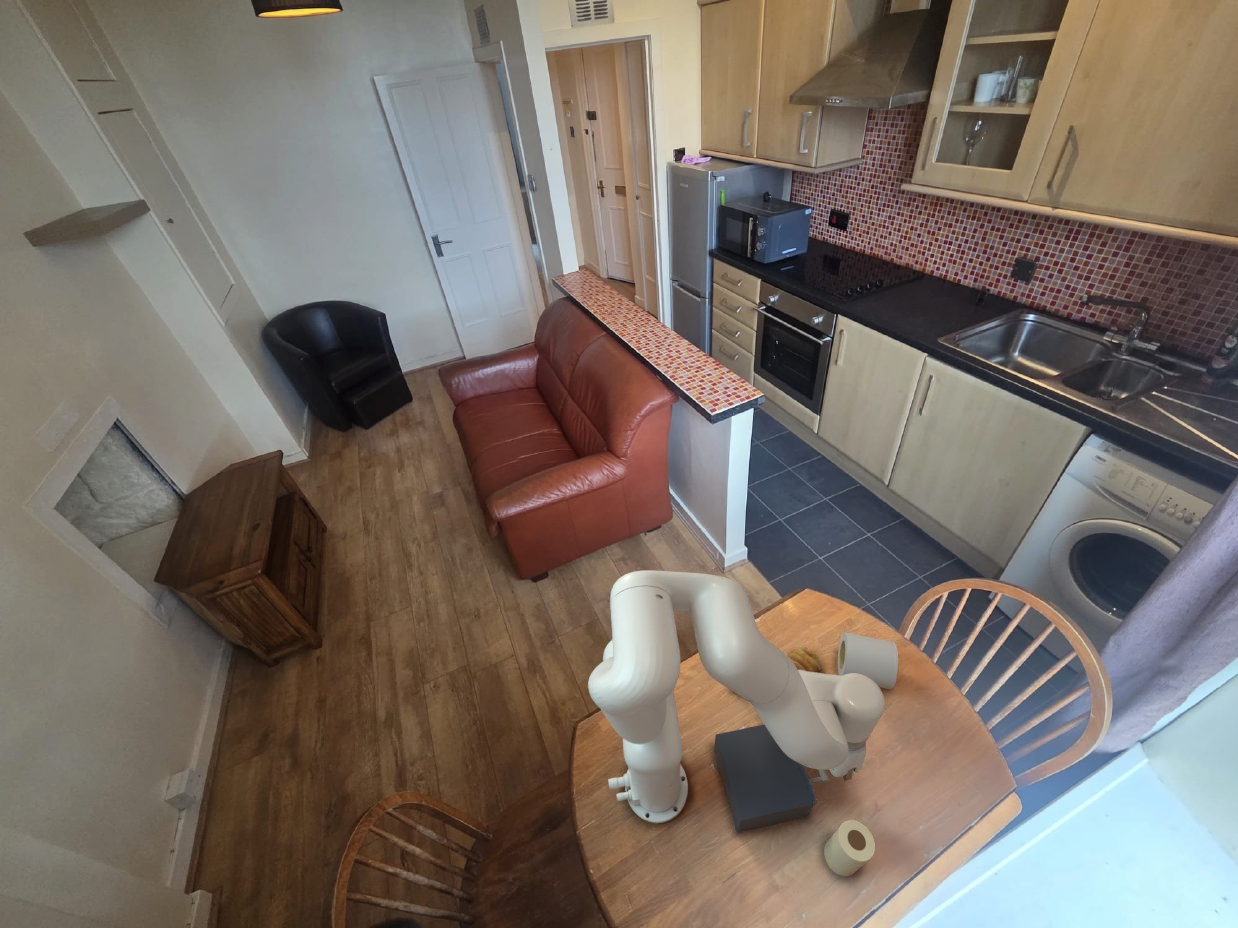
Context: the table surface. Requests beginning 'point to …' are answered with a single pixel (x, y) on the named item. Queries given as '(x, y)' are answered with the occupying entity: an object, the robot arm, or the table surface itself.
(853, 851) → the paper roll
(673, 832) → the table surface
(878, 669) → the toilet paper
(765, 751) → the cabinet
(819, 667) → the pastry
